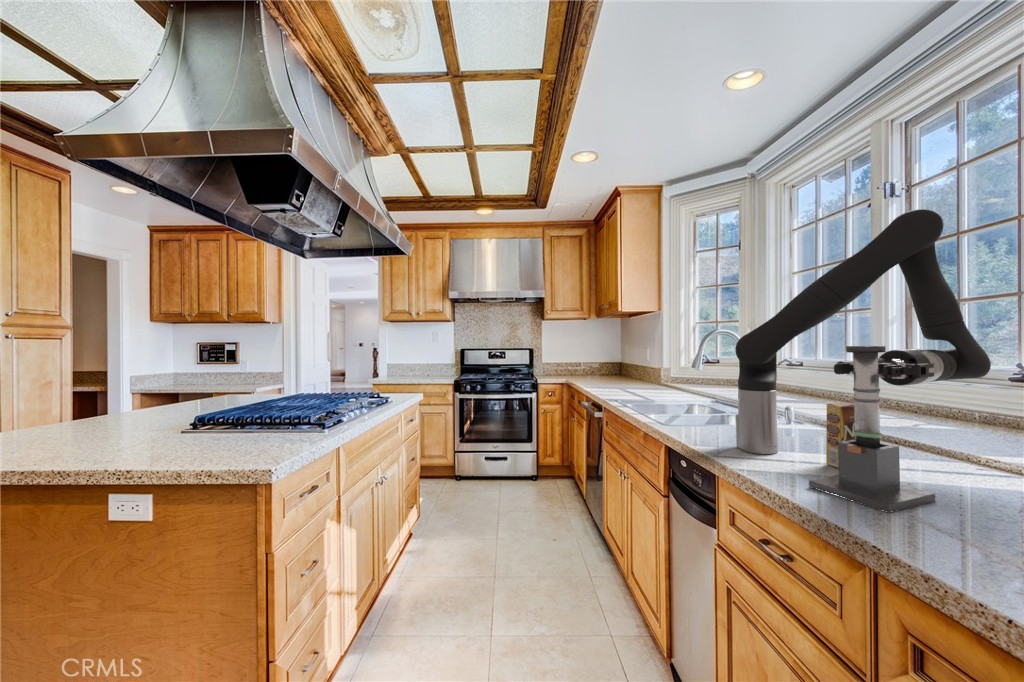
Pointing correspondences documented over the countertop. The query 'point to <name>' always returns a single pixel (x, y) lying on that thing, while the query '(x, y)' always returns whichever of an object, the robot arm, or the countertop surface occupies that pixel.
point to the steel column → (866, 394)
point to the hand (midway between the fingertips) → (859, 370)
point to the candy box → (838, 429)
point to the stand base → (872, 478)
